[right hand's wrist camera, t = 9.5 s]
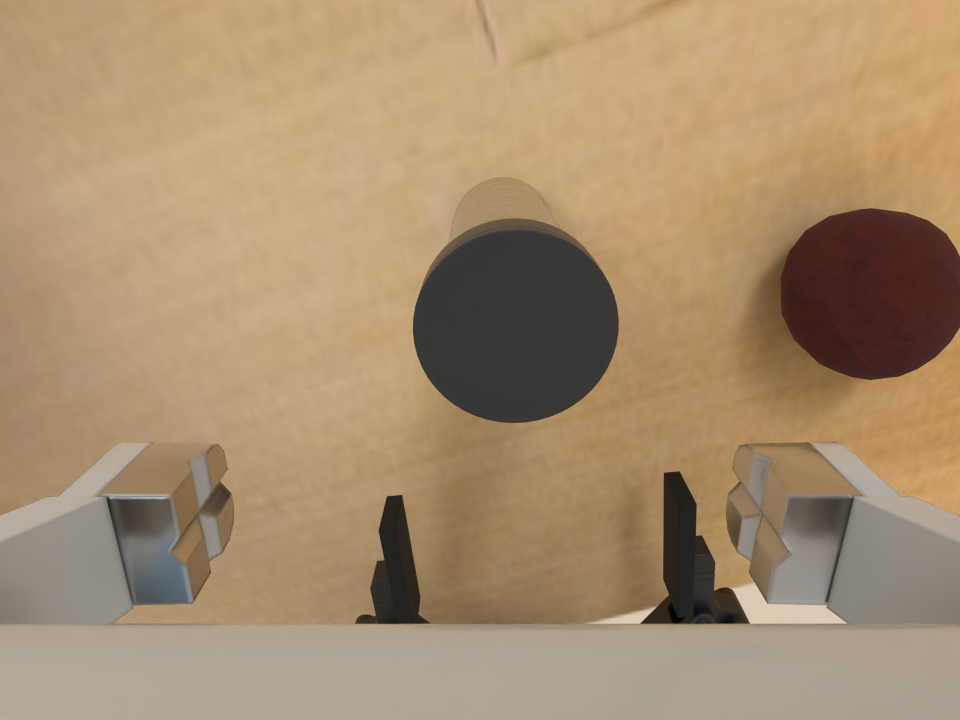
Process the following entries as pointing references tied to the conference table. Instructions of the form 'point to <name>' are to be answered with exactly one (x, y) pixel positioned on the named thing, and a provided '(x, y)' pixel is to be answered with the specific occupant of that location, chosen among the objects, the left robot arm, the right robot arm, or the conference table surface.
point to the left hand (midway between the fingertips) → (533, 499)
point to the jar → (499, 205)
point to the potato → (872, 292)
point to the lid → (515, 321)
